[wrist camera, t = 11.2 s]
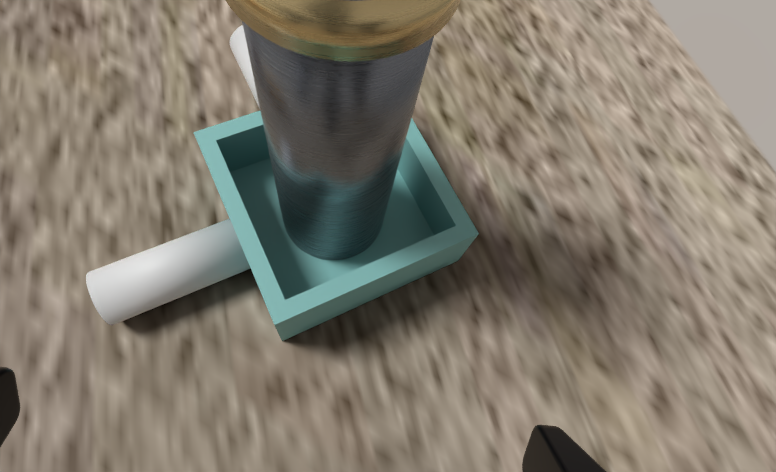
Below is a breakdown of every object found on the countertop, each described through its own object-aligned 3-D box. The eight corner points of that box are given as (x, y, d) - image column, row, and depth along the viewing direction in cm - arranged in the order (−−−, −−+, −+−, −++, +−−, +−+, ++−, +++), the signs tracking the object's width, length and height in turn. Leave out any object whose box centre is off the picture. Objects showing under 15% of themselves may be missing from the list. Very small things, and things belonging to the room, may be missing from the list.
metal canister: (327, 292, 19) (331, 40, 7) (250, 206, 20) (129, -152, 8) (414, 218, 20) (544, -95, 8) (338, 142, 21) (355, -242, 9)
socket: (144, 404, 17) (109, 398, 14) (51, 115, 21) (8, 66, 18) (458, 260, 20) (479, 233, 18) (331, 32, 24) (332, -20, 21)
